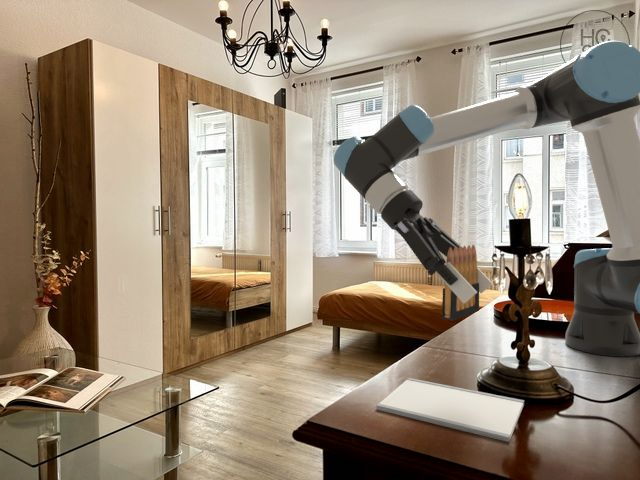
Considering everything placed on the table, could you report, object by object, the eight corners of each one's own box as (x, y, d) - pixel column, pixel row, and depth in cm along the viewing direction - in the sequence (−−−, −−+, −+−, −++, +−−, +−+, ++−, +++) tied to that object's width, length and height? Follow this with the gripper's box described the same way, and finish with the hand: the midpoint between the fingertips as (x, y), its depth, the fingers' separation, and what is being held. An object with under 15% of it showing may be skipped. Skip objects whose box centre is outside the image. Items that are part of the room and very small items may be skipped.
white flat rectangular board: (524, 404, 71) (524, 400, 71) (509, 442, 59) (509, 437, 59) (408, 381, 82) (408, 377, 82) (376, 409, 70) (376, 405, 70)
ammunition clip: (451, 320, 71) (453, 247, 70) (441, 318, 72) (442, 247, 71) (479, 310, 78) (480, 244, 78) (469, 309, 80) (470, 244, 79)
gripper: (405, 216, 92) (479, 296, 84) (352, 216, 73) (441, 319, 65) (429, 190, 89) (509, 271, 81) (380, 183, 70) (478, 287, 62)
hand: (479, 293), depth 73 cm, fingers closed on ammunition clip, 10 cm apart
